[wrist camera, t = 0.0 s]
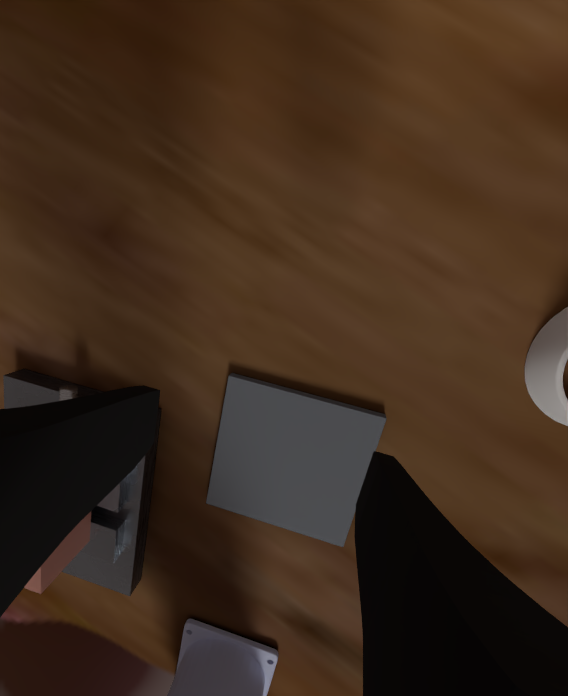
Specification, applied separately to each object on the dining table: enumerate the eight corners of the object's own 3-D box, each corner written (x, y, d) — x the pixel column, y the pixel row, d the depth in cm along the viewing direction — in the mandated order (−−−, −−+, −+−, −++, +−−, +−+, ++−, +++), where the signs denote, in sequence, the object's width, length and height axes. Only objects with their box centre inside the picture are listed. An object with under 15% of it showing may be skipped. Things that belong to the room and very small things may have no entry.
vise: (141, 578, 27) (92, 654, 22) (25, 537, 28) (-47, 599, 23) (162, 398, 22) (108, 439, 17) (23, 358, 24) (-68, 384, 18)
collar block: (89, 540, 24) (40, 593, 20) (29, 519, 24) (-30, 567, 20) (92, 484, 22) (40, 529, 18) (28, 462, 23) (-35, 503, 19)
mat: (343, 540, 23) (343, 547, 22) (209, 497, 24) (206, 503, 23) (385, 414, 20) (386, 418, 19) (231, 372, 21) (228, 375, 21)
